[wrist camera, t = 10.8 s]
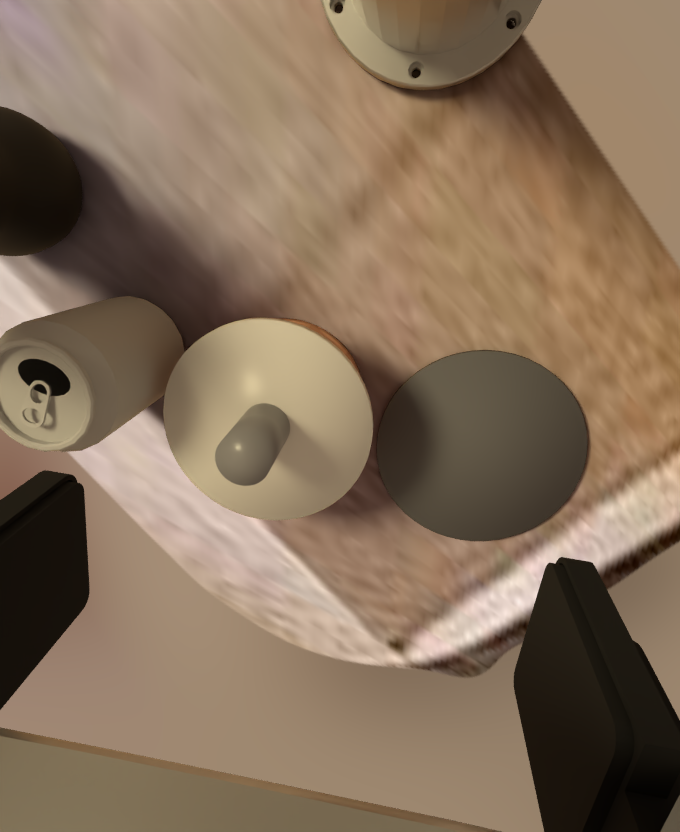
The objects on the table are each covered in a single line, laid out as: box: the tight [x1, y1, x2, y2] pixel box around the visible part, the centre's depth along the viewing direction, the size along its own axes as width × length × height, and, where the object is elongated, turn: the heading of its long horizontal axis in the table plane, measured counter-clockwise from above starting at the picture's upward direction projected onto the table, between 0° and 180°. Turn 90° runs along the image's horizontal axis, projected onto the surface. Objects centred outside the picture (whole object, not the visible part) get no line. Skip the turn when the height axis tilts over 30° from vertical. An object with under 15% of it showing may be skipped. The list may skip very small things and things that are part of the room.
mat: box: [377, 350, 588, 541], centre depth 39 cm, size 14×14×1 cm
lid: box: [163, 318, 373, 520], centre depth 32 cm, size 13×13×6 cm
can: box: [0, 296, 185, 452], centre depth 34 cm, size 8×8×12 cm
